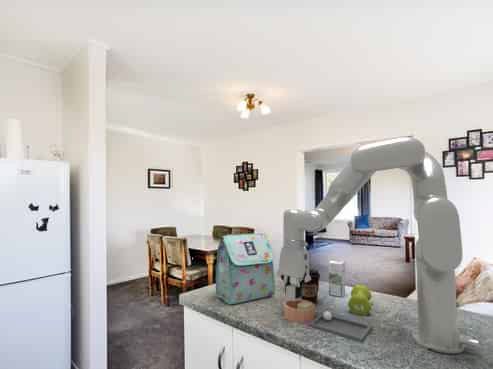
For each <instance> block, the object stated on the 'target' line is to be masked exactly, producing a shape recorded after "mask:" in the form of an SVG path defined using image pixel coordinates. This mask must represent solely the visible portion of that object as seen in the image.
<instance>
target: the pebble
mask: <svg viewBox="0 0 493 369" xmlns="http://www.w3.org/2000/svg"><path fill="white" fill-rule="evenodd" d="M322 313H323V318H324V319H325V320H326V321H330V320H331V319H332V315H333V314H332V313H331V311H329V310H325V311H324V312H322Z"/></svg>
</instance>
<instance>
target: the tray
mask: <svg viewBox="0 0 493 369" xmlns="http://www.w3.org/2000/svg"><path fill="white" fill-rule="evenodd" d="M323 313H324V312H321V313H320V314H319V315H318V316H315V319H314V320H313V321H311V322H308V327H309V328H312V329H315V330H319V331H321V332H325V333H329V334H332V335H336V336H339V337H342V338H345V339H348V340H351V341H355V342H359V343H363V342H364V341H365V339H366V338H367V336H368V335H369V334H370V333H371V331H372V330H373V325H371V324H368V323H363V322H358V321H357V320H356V321H355V320H351V319H349V318H344V317H340V316H336V315H333V314H332V319H331V320H330V321H326V320H325V319H324V318H323Z"/></svg>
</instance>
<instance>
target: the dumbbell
mask: <svg viewBox="0 0 493 369" xmlns="http://www.w3.org/2000/svg"><path fill="white" fill-rule="evenodd" d="M350 295H351V297H350V298H349V300H348V302H347V305H348V308H349V310H350V311H351V313H352V314H354V315H356V316H364V317H365V316H368V314H369V313H370V311H371V310H372V304H371V302H370V300H371V299H372V297H373V296H372V295H373V294H372V293H371V291H370V289H369V288H368V286H367V285H363V284H355V285H354V286H353V288H352V289H351V291H350Z"/></svg>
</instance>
